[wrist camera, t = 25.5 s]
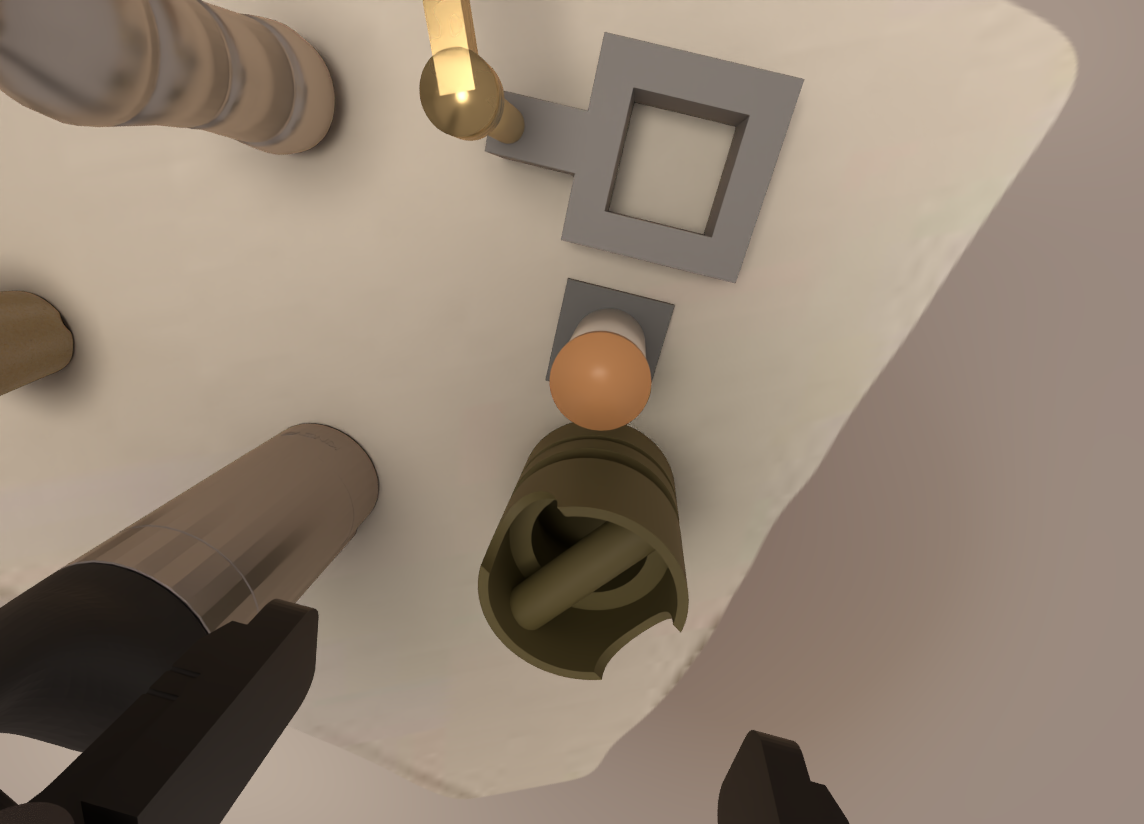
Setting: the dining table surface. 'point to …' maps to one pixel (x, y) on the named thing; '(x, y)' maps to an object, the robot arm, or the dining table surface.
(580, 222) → the socket block
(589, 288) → the mat
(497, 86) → the lever
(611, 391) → the plug
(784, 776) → the robot arm
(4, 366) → the flower pot
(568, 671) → the piston
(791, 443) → the dining table surface
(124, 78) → the plastic bottle
